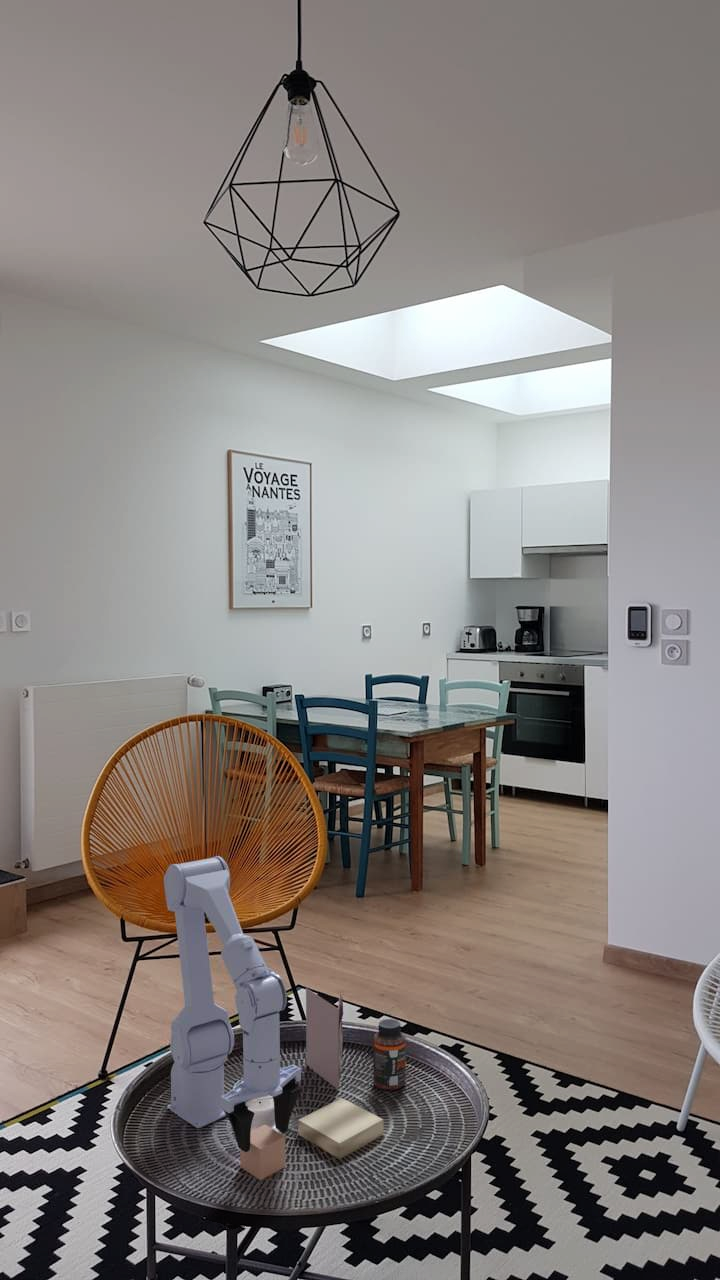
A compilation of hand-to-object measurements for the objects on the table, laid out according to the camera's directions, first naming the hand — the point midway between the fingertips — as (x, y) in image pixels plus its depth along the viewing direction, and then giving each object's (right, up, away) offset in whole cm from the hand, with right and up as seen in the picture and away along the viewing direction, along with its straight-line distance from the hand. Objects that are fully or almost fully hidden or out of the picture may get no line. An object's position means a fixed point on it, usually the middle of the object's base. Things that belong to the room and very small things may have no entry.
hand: (262, 1139), depth 157 cm
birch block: (+12, -4, +9) cm, 16 cm away
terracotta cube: (0, -5, 0) cm, 5 cm away
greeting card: (+9, -3, +30) cm, 31 cm away
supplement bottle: (+21, -3, +26) cm, 34 cm away
